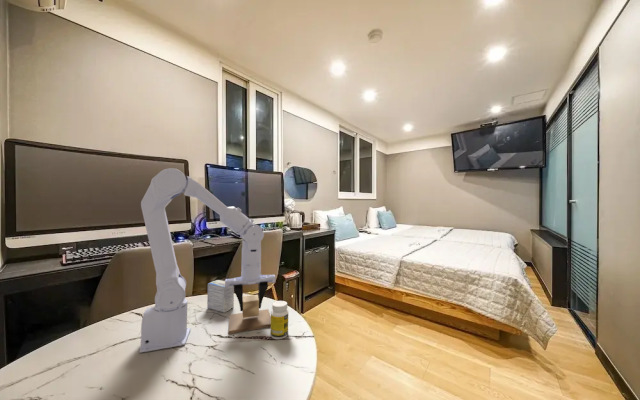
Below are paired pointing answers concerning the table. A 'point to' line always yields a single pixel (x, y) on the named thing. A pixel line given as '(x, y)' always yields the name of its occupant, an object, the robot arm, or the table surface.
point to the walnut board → (249, 322)
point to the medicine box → (220, 296)
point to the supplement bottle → (279, 320)
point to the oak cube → (250, 306)
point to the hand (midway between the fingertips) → (250, 308)
